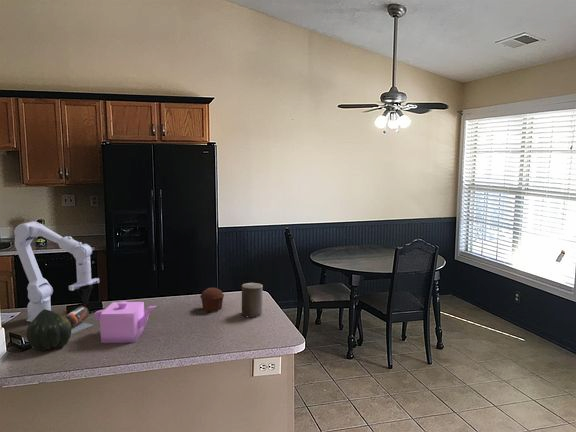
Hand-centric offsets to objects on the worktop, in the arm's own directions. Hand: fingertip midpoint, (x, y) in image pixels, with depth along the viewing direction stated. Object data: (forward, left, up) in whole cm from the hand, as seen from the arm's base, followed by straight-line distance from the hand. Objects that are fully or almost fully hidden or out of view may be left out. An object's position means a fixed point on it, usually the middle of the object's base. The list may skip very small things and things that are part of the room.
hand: (85, 302), depth 199 cm
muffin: (+41, +38, -9) cm, 57 cm away
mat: (0, -11, -8) cm, 14 cm away
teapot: (+29, -5, -9) cm, 31 cm away
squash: (+11, -26, -9) cm, 30 cm away
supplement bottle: (+1, -1, -4) cm, 4 cm away
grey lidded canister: (+62, +40, -9) cm, 74 cm away
